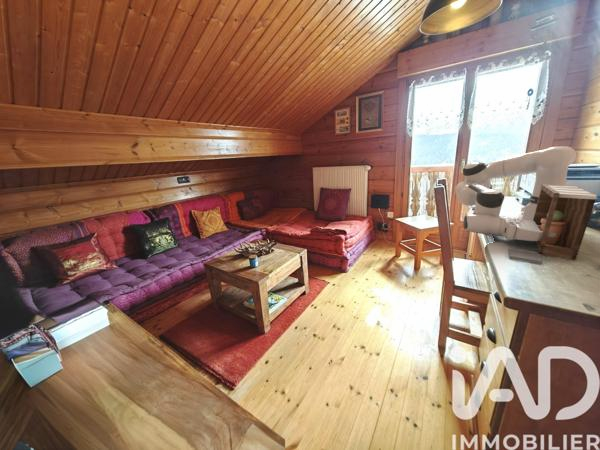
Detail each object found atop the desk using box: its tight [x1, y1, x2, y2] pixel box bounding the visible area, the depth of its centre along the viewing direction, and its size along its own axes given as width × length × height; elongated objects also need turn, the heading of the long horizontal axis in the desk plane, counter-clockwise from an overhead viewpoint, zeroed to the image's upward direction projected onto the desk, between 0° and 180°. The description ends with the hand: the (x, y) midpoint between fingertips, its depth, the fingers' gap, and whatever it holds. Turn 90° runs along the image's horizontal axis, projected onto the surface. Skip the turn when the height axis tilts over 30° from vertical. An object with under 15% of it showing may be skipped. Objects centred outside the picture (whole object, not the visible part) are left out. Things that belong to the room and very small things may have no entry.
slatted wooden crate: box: [533, 184, 598, 261], centre depth 93 cm, size 25×10×24 cm, turn 143°
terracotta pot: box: [535, 210, 567, 247], centre depth 95 cm, size 7×7×15 cm
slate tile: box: [507, 247, 542, 265], centre depth 88 cm, size 9×8×1 cm
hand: (553, 232), depth 95 cm, fingers closed on terracotta pot, 6 cm apart
